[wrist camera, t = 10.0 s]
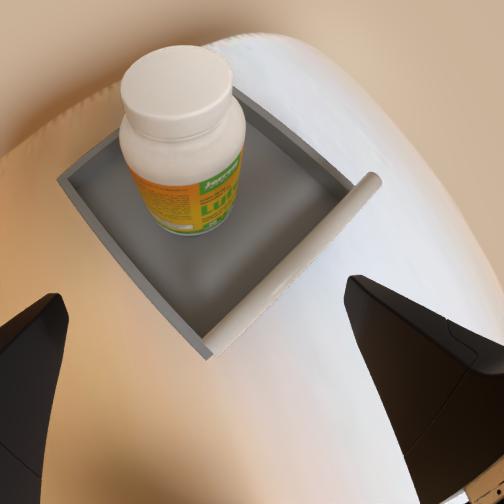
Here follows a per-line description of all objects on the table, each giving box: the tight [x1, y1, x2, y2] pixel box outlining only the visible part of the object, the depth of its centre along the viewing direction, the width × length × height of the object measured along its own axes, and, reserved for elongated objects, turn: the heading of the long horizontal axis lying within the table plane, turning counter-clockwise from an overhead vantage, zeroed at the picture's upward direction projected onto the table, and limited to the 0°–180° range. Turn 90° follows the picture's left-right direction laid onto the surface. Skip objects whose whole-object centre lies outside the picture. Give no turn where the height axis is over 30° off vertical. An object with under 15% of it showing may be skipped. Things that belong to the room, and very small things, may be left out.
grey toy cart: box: [56, 86, 382, 361], centre depth 18 cm, size 14×13×8 cm
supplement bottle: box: [119, 45, 246, 236], centre depth 14 cm, size 5×5×10 cm
